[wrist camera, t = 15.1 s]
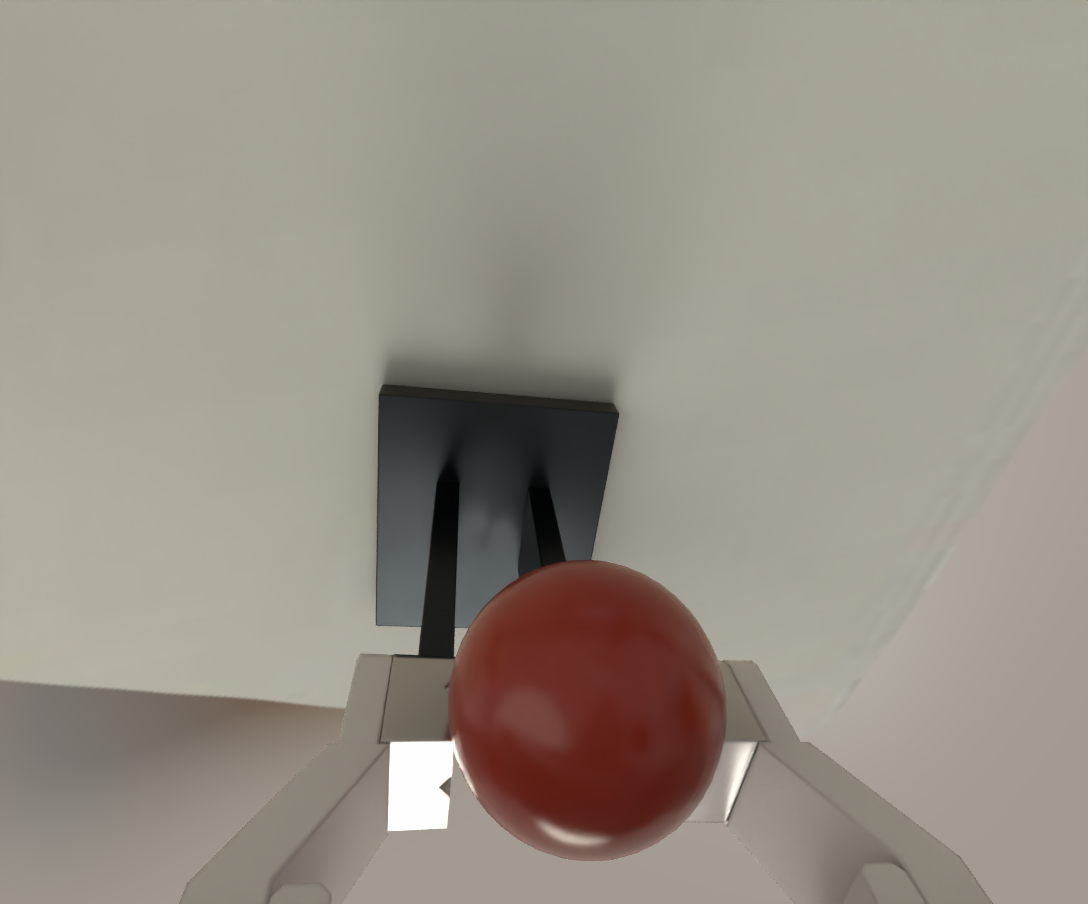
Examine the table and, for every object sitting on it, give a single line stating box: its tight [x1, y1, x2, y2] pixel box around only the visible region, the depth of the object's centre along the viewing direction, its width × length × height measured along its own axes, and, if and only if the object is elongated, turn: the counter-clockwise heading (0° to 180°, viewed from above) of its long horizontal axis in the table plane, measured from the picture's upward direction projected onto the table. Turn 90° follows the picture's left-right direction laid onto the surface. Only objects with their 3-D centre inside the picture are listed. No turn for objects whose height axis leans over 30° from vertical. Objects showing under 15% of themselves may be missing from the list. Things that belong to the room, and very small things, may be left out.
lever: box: [448, 560, 727, 861], centre depth 13 cm, size 15×4×4 cm
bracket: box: [376, 385, 619, 657], centre depth 23 cm, size 12×10×13 cm
